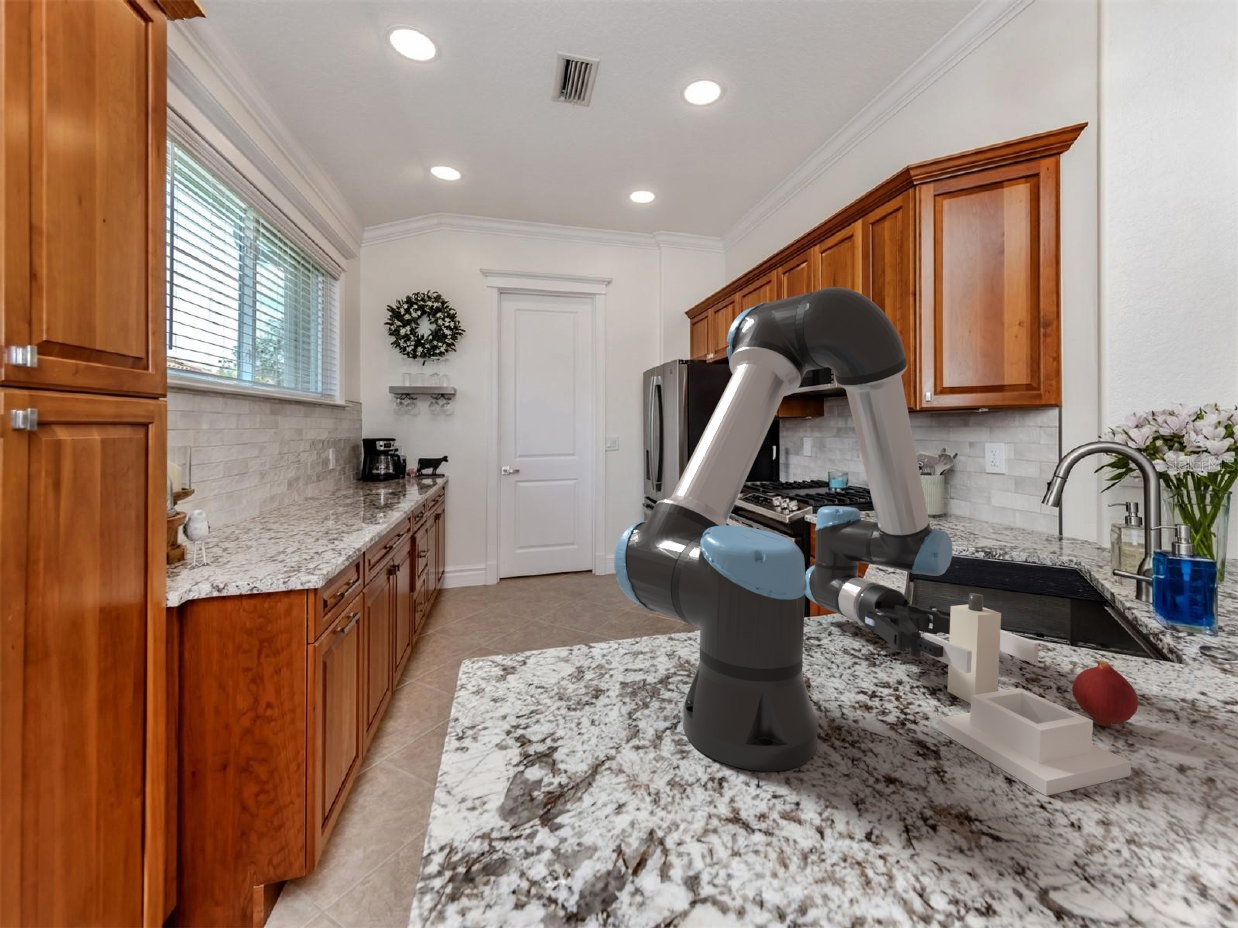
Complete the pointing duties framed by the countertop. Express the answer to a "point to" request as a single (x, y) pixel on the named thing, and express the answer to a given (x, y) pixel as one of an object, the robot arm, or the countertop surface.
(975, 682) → the plug
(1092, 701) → the onion
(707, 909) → the countertop surface
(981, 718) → the socket
